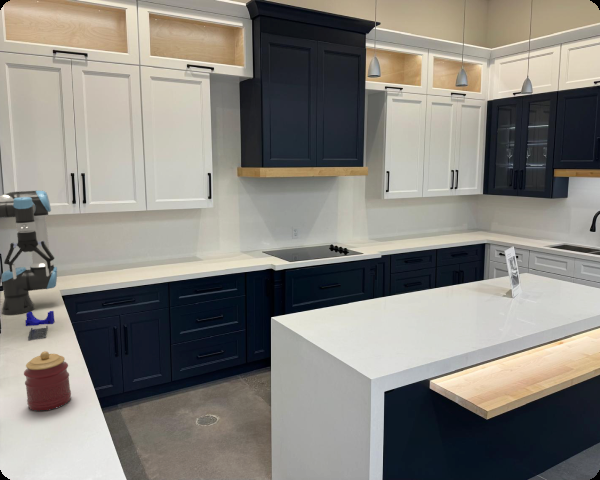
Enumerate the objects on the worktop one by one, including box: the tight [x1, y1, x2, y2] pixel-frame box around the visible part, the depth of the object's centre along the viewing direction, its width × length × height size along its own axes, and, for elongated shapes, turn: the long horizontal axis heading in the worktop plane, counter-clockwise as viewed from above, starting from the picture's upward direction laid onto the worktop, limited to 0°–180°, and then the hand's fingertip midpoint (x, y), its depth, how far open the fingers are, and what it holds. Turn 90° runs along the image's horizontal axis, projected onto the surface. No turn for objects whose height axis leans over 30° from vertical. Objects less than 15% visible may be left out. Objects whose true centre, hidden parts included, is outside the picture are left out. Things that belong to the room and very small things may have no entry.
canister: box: [23, 350, 72, 412], centre depth 164 cm, size 13×13×18 cm
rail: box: [27, 325, 49, 341], centre depth 234 cm, size 15×7×1 cm, turn 23°
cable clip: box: [24, 310, 56, 327], centre depth 249 cm, size 12×4×6 cm, turn 92°
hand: (31, 277), depth 230 cm, fingers open, 13 cm apart
